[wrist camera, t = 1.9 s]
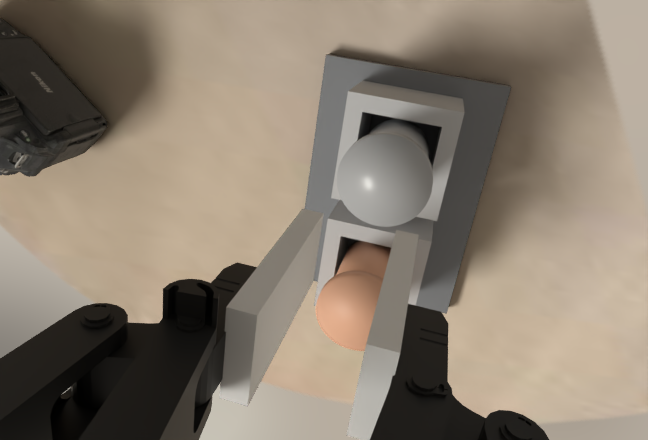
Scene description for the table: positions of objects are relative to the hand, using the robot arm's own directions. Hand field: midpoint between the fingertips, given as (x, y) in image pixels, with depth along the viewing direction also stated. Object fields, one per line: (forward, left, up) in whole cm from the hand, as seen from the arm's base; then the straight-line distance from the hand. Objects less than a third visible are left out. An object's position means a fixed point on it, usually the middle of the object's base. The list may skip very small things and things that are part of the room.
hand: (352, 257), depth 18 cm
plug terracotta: (+8, 0, -15) cm, 17 cm away
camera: (+3, -29, -20) cm, 35 cm away
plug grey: (0, 0, -15) cm, 15 cm away
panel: (+4, 0, -20) cm, 20 cm away
